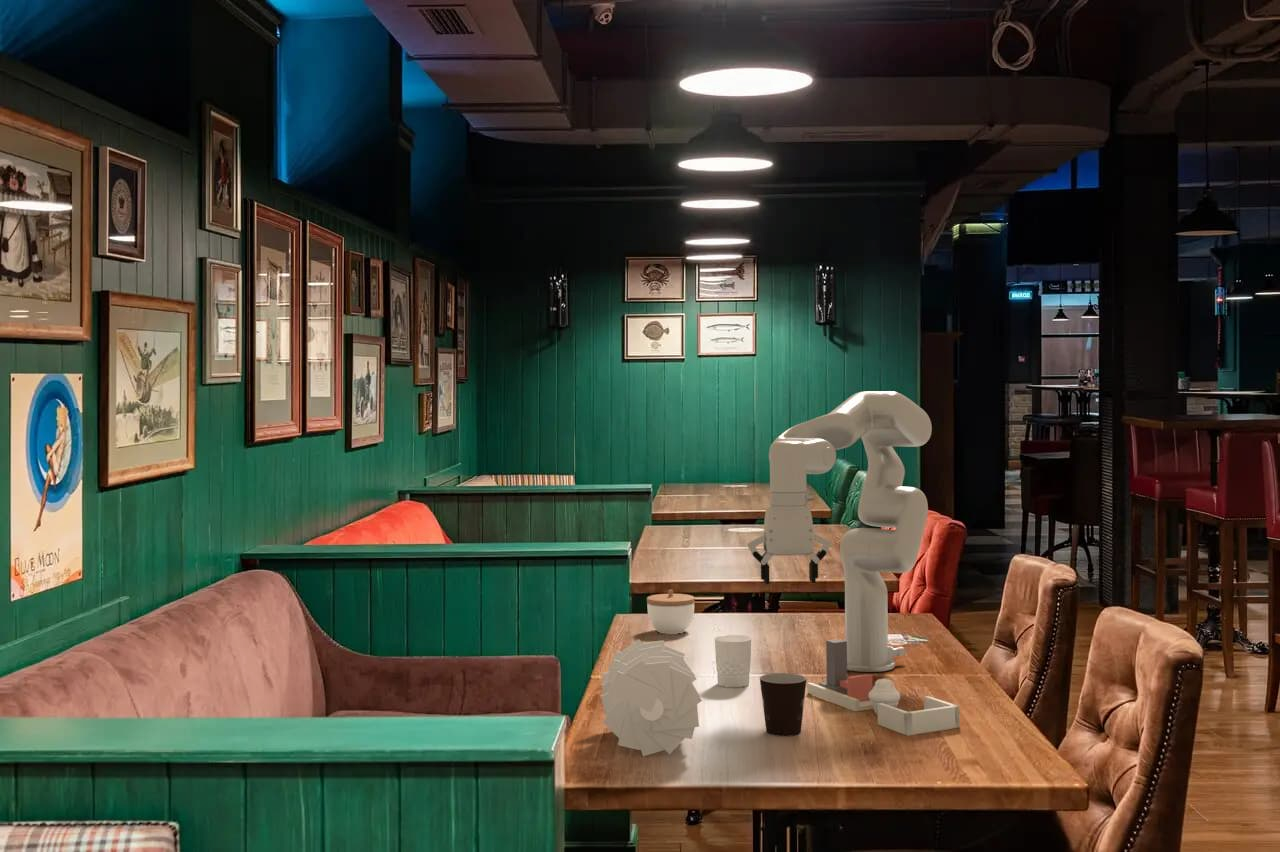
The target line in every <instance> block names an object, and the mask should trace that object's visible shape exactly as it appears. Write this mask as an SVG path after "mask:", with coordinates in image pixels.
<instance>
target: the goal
mask: <svg viewBox="0 0 1280 852" xmlns="http://www.w3.org/2000/svg"><path fill="white" fill-rule="evenodd" d="M923 698H924V699H923V701H924V703H923V705H924V709H920V710H912V711H906V710H903V709H901V708H898V707H896V708H895V707H893V706H890V705H887V704H884V703H878V714H877V725H878V726H881V727H883V728H887V729H889V730H891V731H893V732H897V733H899V734H903V735H905V736H914V735H919V734H920V735H921V734H927V733H933V732H939V731H945V730H951V729H957V728H960V705H957V704H954V703H952V702H948V701H945V700H941V699H939V698H936V697H932V696H930V695H928V696H924V697H923Z"/></svg>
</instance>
